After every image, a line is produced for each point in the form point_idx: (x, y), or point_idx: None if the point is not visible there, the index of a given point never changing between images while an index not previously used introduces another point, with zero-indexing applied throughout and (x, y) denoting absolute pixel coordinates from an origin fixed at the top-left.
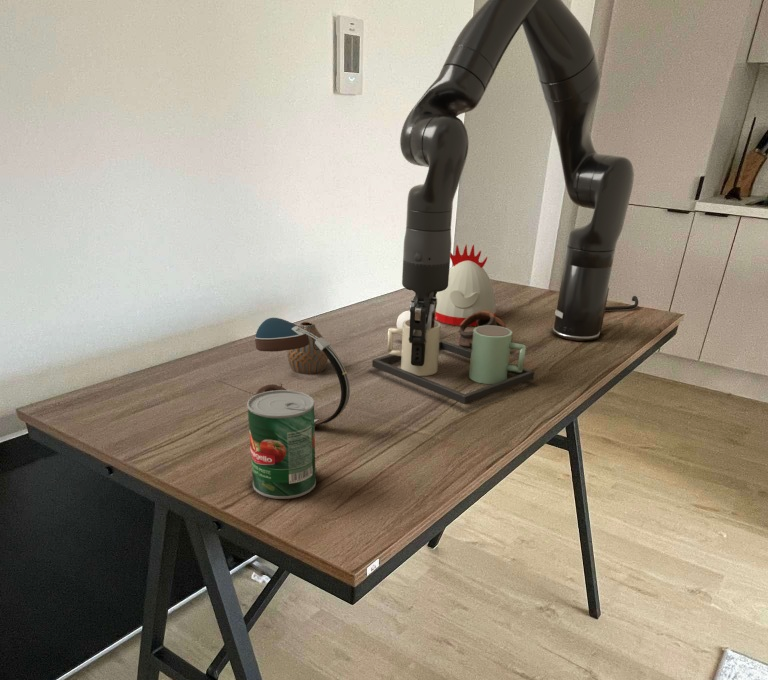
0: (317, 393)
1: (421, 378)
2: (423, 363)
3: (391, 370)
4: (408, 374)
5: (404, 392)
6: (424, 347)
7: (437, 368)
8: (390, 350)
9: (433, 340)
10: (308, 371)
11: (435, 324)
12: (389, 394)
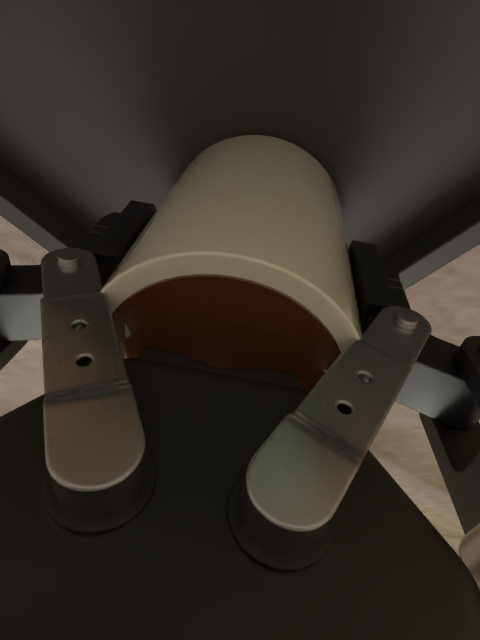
0: (414, 468)
1: (475, 240)
2: (376, 247)
3: None
4: (404, 289)
5: (448, 272)
6: (389, 297)
7: (270, 140)
8: None
9: (338, 259)
10: None
11: (228, 296)
12: (458, 320)
